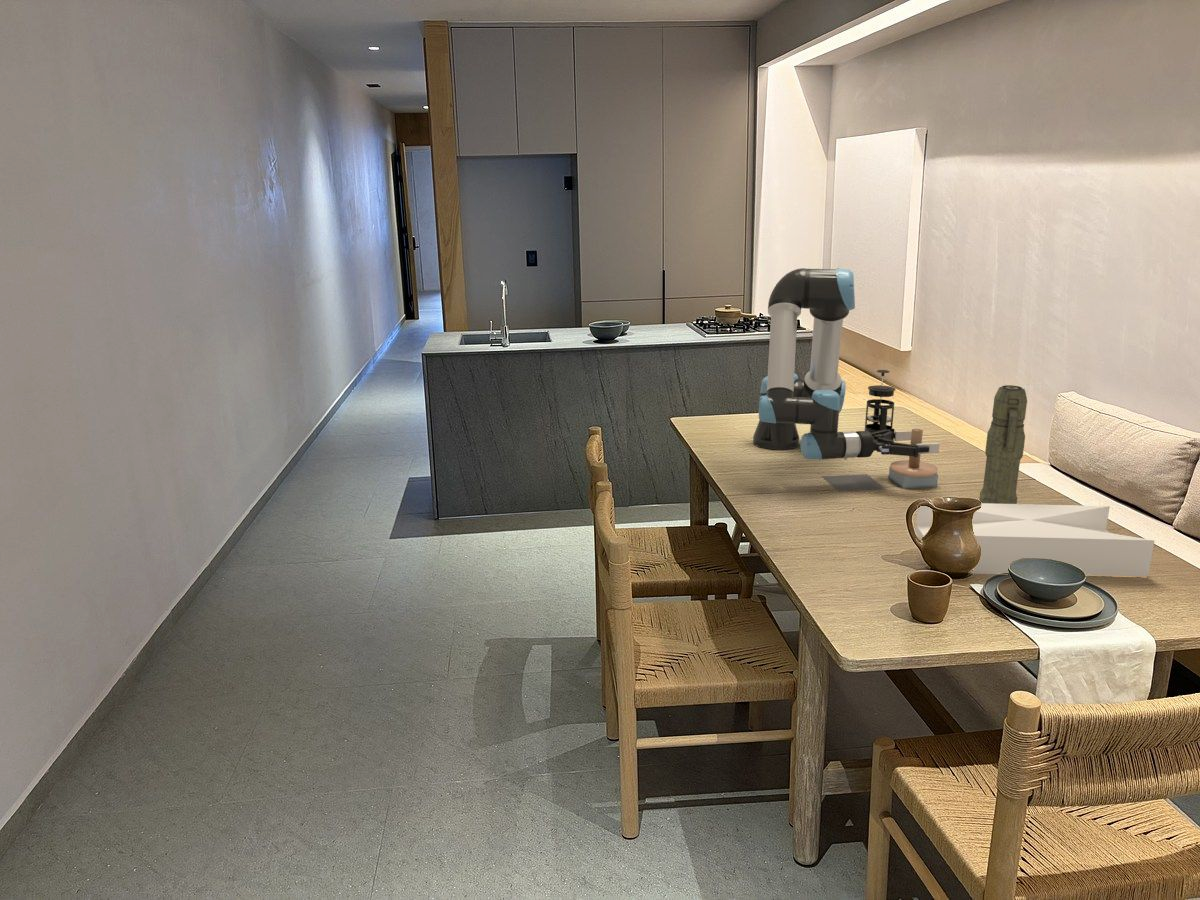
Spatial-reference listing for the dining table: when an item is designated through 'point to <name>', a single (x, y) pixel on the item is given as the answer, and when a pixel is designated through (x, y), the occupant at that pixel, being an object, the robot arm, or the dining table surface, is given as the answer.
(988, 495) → the green carved statue
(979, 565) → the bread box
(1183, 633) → the dining table surface
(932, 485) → the dish
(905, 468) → the lid
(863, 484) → the mat
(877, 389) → the french press
